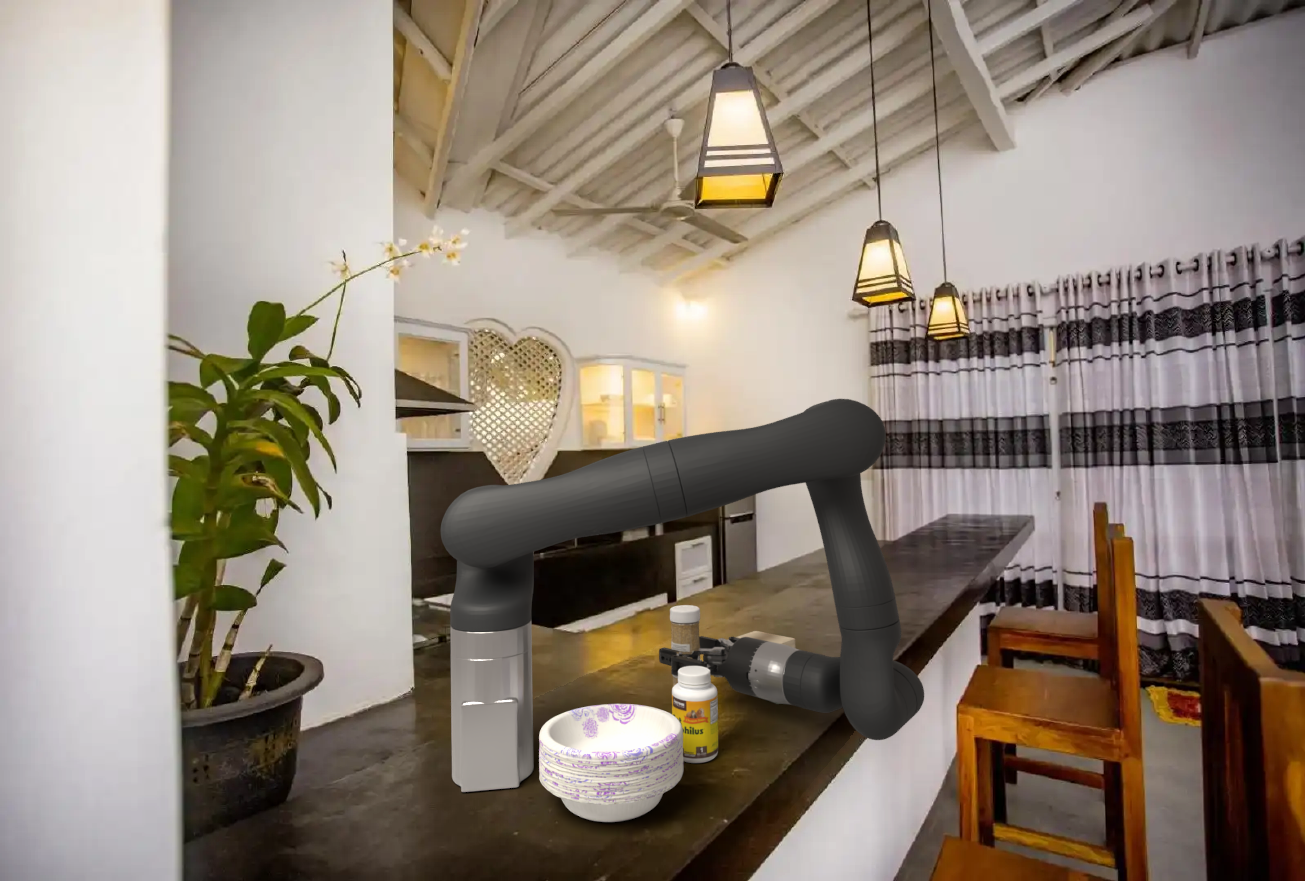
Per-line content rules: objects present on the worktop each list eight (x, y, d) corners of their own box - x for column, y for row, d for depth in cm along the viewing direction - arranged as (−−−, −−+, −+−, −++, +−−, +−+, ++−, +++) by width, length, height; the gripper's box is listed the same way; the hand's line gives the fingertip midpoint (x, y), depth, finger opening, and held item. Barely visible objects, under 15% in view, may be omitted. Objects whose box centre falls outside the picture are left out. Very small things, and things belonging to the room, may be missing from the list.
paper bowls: (633, 756, 83) (632, 690, 83) (713, 808, 70) (712, 730, 70) (516, 793, 74) (515, 719, 74) (583, 859, 62) (581, 770, 62)
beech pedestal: (796, 675, 112) (795, 638, 112) (768, 687, 106) (767, 648, 107) (756, 665, 118) (755, 630, 118) (727, 676, 112) (726, 640, 112)
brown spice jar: (708, 698, 102) (706, 607, 103) (683, 704, 100) (681, 612, 100) (689, 689, 106) (688, 602, 107) (665, 695, 104) (663, 606, 104)
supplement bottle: (664, 759, 82) (662, 673, 82) (685, 742, 87) (683, 661, 87) (706, 769, 79) (705, 680, 79) (726, 750, 84) (724, 666, 84)
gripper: (796, 632, 98) (709, 615, 109) (735, 653, 88) (646, 633, 99) (797, 685, 98) (710, 662, 109) (737, 712, 87) (647, 685, 99)
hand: (679, 648), depth 104 cm, fingers open, 8 cm apart
